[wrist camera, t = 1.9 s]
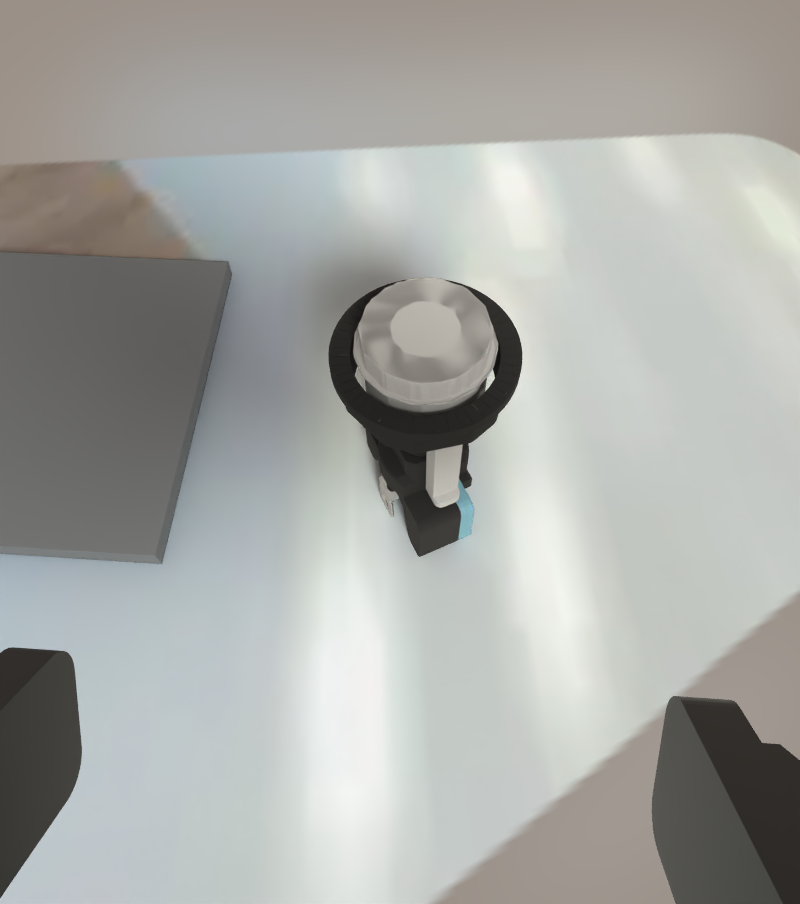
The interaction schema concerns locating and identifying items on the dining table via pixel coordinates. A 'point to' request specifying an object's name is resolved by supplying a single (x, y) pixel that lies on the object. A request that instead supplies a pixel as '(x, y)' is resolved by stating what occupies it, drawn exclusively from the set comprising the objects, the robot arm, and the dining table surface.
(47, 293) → the rubber mat
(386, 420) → the push button
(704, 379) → the dining table surface
